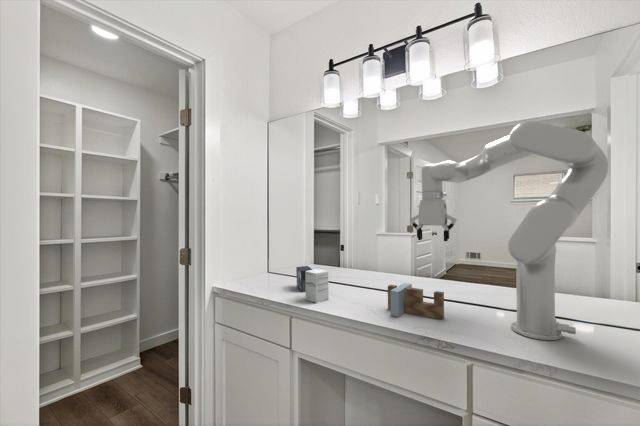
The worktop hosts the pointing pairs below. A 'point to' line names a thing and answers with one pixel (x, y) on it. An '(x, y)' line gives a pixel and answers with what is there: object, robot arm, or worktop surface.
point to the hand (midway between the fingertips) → (432, 240)
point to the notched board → (421, 303)
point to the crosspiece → (398, 299)
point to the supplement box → (316, 285)
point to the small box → (302, 277)
